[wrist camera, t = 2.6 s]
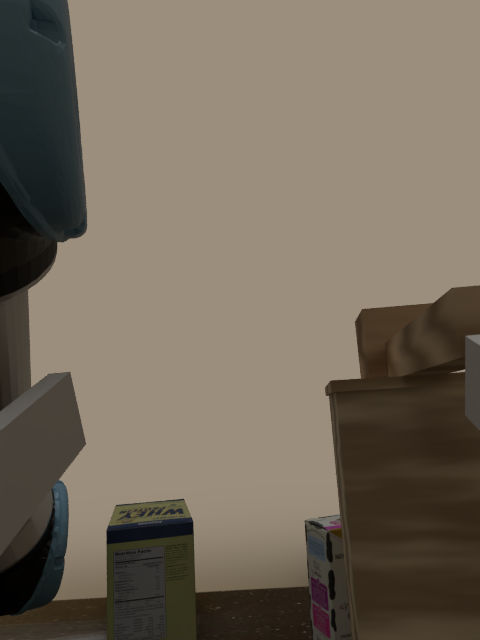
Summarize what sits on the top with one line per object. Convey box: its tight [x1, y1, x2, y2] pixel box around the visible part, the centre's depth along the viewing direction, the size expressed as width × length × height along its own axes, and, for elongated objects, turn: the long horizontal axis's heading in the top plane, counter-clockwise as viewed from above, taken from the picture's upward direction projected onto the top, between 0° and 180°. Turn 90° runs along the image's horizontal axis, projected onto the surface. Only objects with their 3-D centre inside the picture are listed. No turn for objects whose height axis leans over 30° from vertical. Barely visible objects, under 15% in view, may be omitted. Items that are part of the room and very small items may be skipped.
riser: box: [325, 372, 480, 640], centre depth 34 cm, size 13×13×30 cm
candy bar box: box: [305, 515, 352, 640], centre depth 47 cm, size 11×5×16 cm, turn 112°
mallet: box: [355, 286, 480, 379], centre depth 31 cm, size 24×6×6 cm, turn 171°
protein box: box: [107, 499, 197, 640], centre depth 60 cm, size 10×16×16 cm
